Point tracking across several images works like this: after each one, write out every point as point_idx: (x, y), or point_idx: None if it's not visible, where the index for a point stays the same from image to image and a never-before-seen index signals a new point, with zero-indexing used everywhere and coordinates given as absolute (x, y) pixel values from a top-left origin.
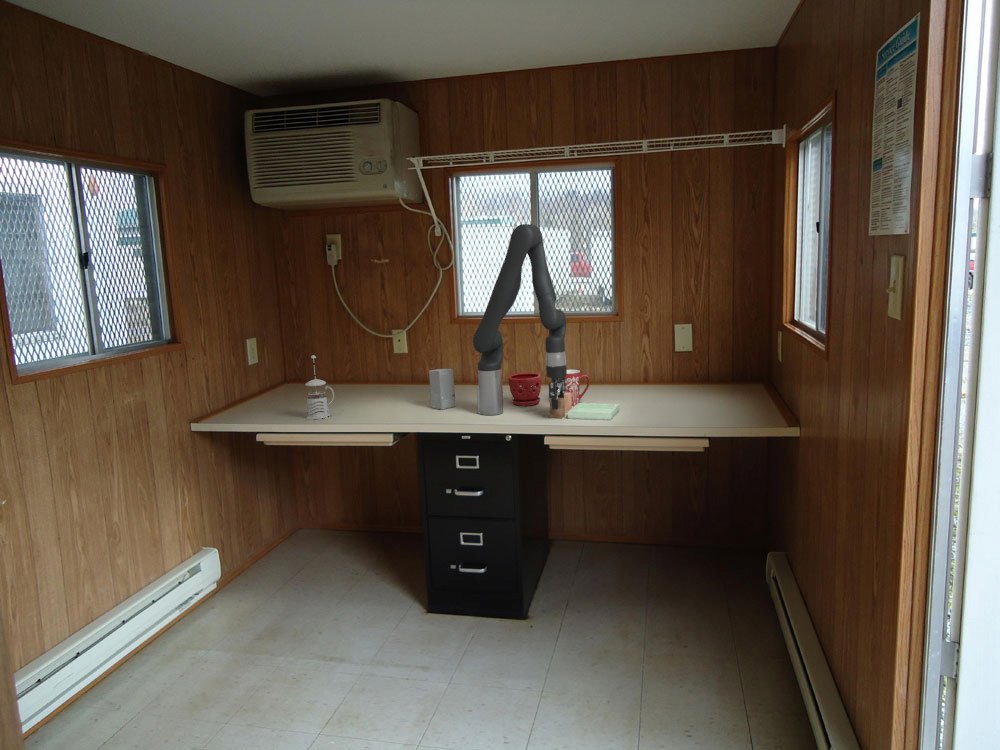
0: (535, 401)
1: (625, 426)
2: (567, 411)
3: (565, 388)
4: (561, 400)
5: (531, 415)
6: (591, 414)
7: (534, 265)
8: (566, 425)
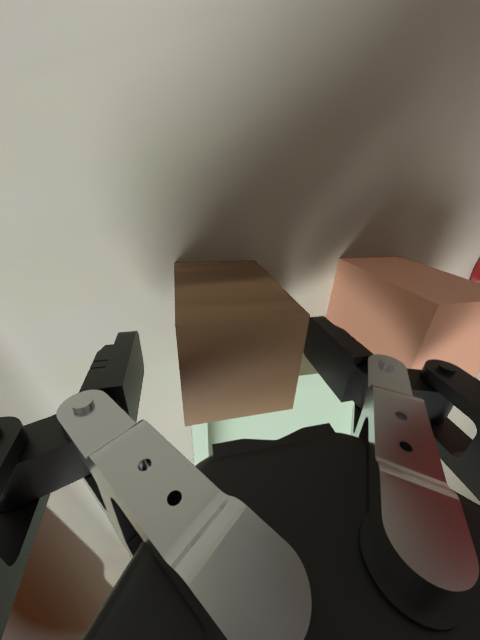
0: None
1: (121, 550)
2: (330, 318)
3: (440, 433)
4: (196, 421)
5: (245, 59)
6: None
7: None
8: (26, 408)
